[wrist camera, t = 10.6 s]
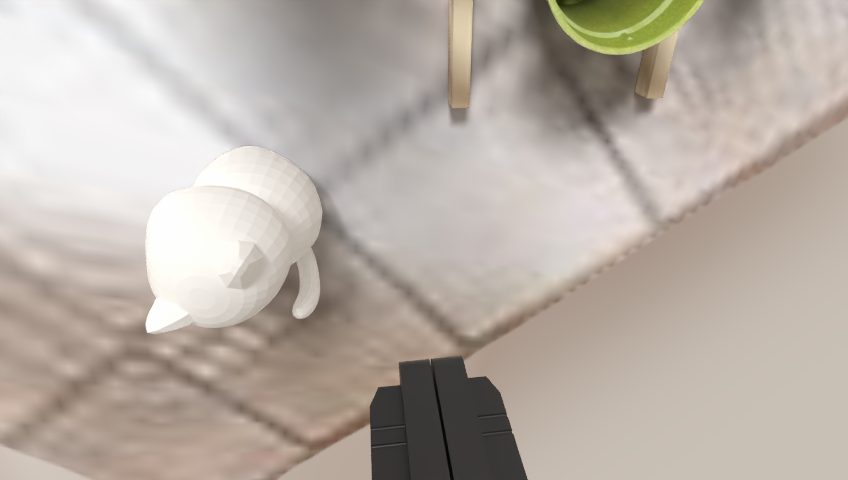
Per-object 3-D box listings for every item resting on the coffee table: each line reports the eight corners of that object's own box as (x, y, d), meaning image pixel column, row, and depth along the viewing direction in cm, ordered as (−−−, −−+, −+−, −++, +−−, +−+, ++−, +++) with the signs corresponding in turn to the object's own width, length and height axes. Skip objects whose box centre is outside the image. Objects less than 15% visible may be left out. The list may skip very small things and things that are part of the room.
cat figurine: (257, 101, 34) (194, 193, 21) (368, 225, 40) (370, 355, 27) (166, 173, 36) (58, 297, 23) (284, 282, 42) (250, 428, 29)
